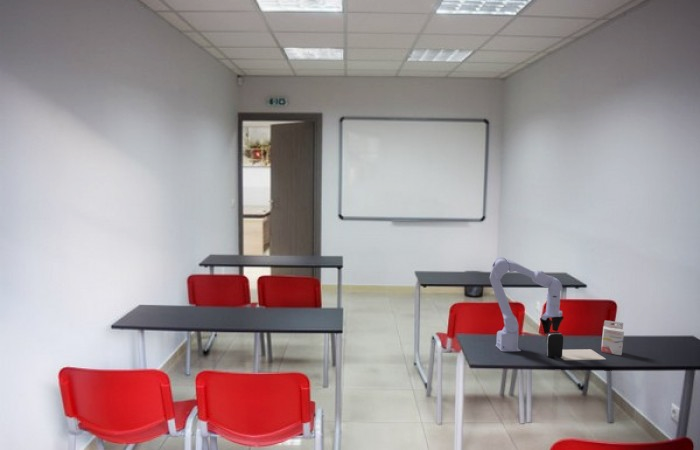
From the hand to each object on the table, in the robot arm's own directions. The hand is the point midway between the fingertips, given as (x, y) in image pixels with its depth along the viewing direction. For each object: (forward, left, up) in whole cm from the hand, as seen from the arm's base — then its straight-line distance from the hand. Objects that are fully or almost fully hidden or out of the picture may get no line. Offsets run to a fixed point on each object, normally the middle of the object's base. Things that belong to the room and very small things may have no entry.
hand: (550, 332), depth 227 cm
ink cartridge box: (+31, 0, -10) cm, 33 cm away
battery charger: (0, -4, -10) cm, 11 cm away
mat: (+13, -3, -10) cm, 16 cm away
